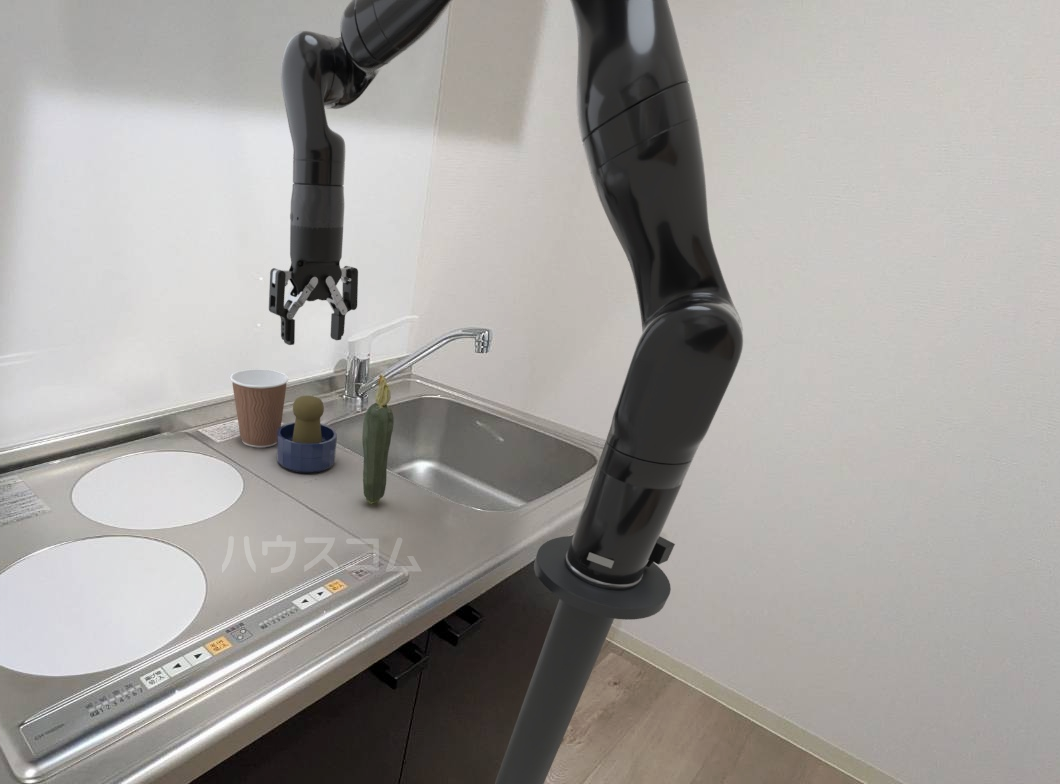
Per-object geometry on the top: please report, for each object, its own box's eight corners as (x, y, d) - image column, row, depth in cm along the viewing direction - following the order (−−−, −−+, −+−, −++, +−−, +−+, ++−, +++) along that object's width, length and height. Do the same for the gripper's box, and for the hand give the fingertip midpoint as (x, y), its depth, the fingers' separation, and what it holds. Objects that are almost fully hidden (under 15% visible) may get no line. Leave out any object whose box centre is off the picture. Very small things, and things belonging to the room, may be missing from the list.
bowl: (315, 446, 108) (316, 418, 105) (346, 468, 101) (348, 438, 98) (266, 456, 104) (266, 427, 101) (295, 479, 97) (295, 448, 94)
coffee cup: (296, 436, 112) (297, 374, 105) (272, 455, 104) (272, 389, 97) (249, 426, 115) (247, 365, 108) (222, 444, 107) (219, 379, 100)
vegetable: (383, 513, 89) (399, 383, 77) (355, 511, 89) (367, 380, 78) (383, 499, 92) (398, 373, 81) (355, 497, 92) (367, 371, 81)
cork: (283, 461, 101) (284, 399, 95) (298, 449, 105) (299, 389, 99) (315, 469, 99) (318, 406, 93) (328, 456, 104) (332, 395, 97)
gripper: (285, 225, 76) (284, 352, 85) (373, 225, 83) (363, 343, 91) (259, 220, 81) (261, 340, 90) (344, 220, 88) (338, 332, 97)
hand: (313, 341), depth 91 cm, fingers open, 8 cm apart
